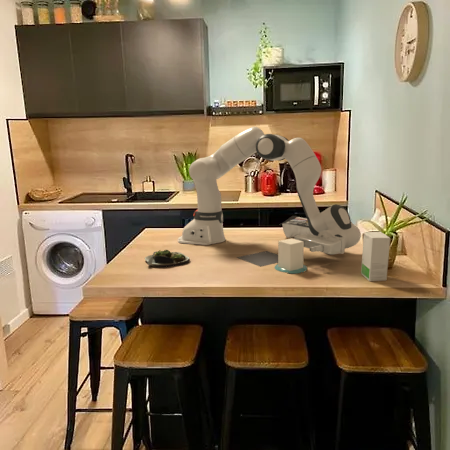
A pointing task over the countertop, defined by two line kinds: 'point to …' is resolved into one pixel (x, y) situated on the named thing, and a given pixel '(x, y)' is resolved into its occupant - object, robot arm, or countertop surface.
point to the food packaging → (296, 226)
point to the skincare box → (375, 256)
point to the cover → (290, 254)
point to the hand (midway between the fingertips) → (302, 246)
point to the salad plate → (166, 259)
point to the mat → (261, 258)
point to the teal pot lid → (292, 270)
